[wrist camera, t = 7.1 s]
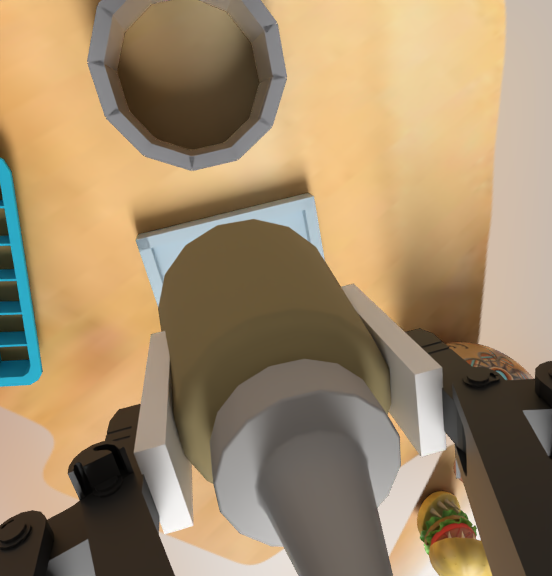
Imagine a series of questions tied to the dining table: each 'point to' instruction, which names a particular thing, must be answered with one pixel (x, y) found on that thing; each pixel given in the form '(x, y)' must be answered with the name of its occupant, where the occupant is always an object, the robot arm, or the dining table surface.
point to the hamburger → (450, 538)
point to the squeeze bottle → (281, 396)
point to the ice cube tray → (19, 369)
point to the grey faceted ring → (103, 67)
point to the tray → (171, 240)
